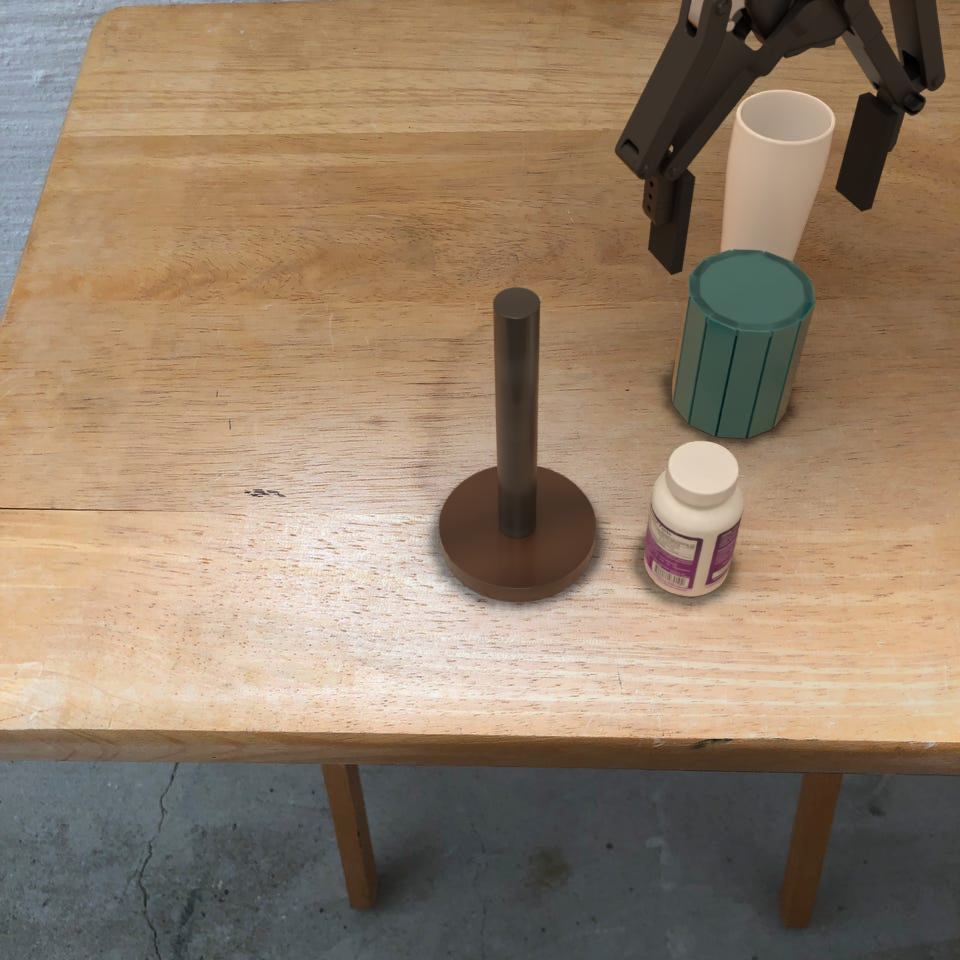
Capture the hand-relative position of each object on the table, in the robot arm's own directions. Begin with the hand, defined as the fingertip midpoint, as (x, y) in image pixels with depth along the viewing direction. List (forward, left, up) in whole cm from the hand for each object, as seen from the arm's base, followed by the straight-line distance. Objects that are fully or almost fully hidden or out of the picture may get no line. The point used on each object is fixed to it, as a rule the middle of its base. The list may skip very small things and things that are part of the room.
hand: (761, 229), depth 67 cm
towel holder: (-5, +19, -15) cm, 24 cm away
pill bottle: (-11, +10, -15) cm, 21 cm away
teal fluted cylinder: (0, 0, -15) cm, 15 cm away
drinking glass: (+9, -8, -15) cm, 19 cm away
